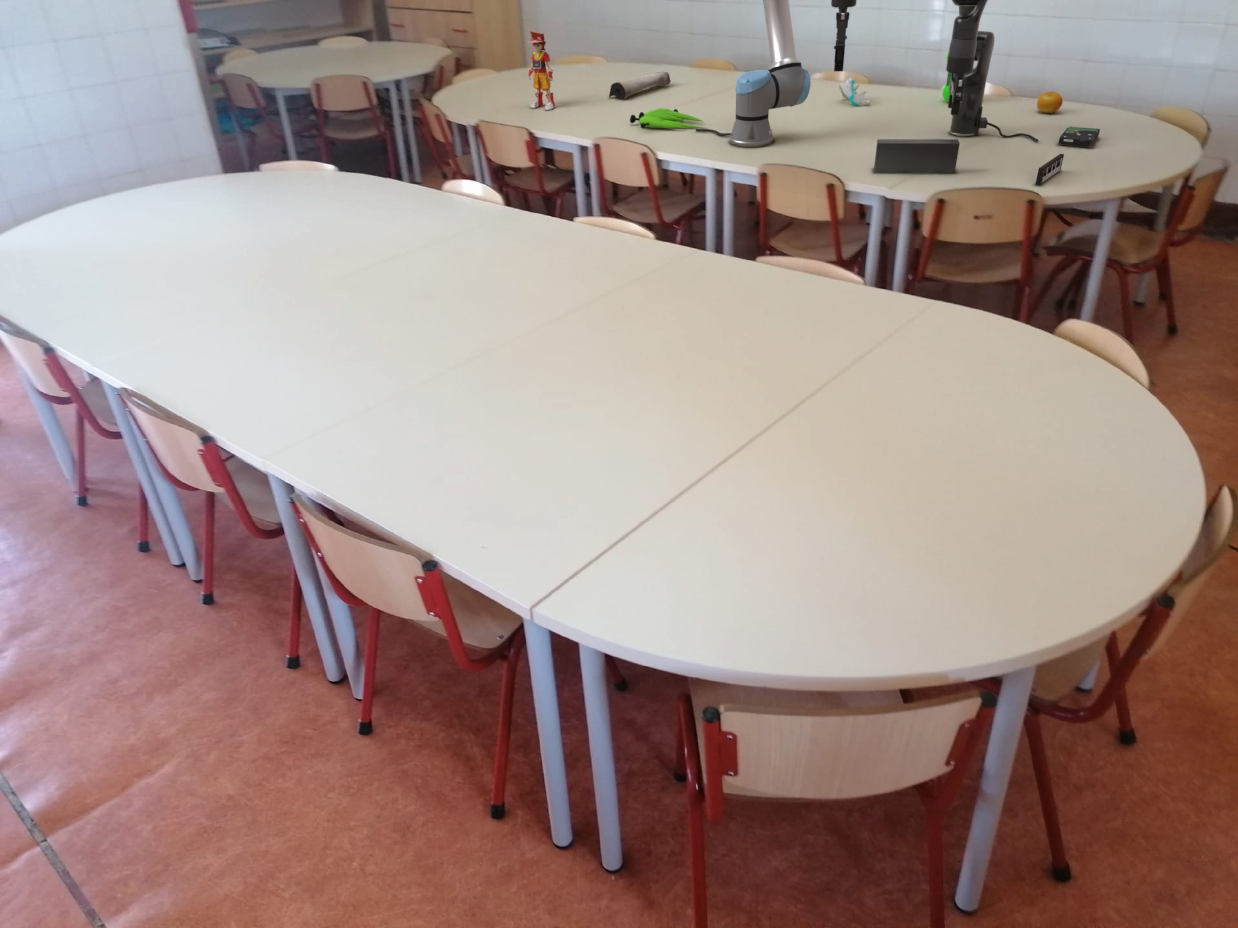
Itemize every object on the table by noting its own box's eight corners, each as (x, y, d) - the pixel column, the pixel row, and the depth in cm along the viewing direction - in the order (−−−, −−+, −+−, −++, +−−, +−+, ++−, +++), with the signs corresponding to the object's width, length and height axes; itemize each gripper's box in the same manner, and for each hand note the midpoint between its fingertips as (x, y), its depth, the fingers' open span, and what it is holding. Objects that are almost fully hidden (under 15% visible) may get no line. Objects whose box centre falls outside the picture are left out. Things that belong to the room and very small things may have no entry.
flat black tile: (1039, 185, 269) (1043, 168, 266) (1035, 184, 270) (1038, 168, 267) (1060, 170, 279) (1064, 154, 277) (1056, 169, 280) (1060, 153, 277)
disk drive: (1091, 148, 296) (1098, 136, 306) (1093, 140, 295) (1100, 128, 305) (1057, 145, 301) (1065, 133, 311) (1059, 137, 299) (1067, 125, 310)
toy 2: (619, 127, 344) (687, 140, 332) (619, 113, 342) (688, 126, 329) (655, 115, 365) (720, 127, 352) (656, 102, 362) (722, 114, 350)
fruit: (1033, 104, 332) (1048, 84, 329) (1031, 108, 340) (1046, 88, 337) (1052, 117, 331) (1068, 97, 327) (1050, 120, 338) (1065, 100, 335)
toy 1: (525, 109, 381) (517, 32, 364) (534, 104, 388) (527, 28, 371) (550, 110, 377) (543, 32, 360) (559, 105, 384) (553, 28, 367)
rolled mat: (651, 76, 408) (662, 61, 399) (662, 93, 408) (674, 79, 400) (605, 92, 391) (616, 77, 383) (617, 110, 391) (628, 95, 383)
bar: (953, 169, 287) (958, 139, 281) (954, 173, 283) (959, 143, 278) (874, 168, 291) (877, 139, 286) (874, 172, 288) (877, 143, 282)
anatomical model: (834, 77, 364) (859, 70, 363) (837, 103, 370) (861, 96, 369) (845, 85, 351) (870, 78, 351) (847, 112, 357) (872, 105, 357)
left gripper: (832, -14, 284) (827, 58, 296) (831, -2, 264) (825, 75, 276) (856, -14, 283) (850, 58, 295) (857, -2, 263) (850, 75, 275)
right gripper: (977, 59, 259) (968, 117, 269) (972, 49, 271) (963, 105, 280) (950, 59, 261) (942, 117, 270) (946, 50, 272) (938, 105, 281)
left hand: (838, 66), depth 285 cm, fingers open, 13 cm apart
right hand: (952, 111), depth 275 cm, fingers open, 8 cm apart
